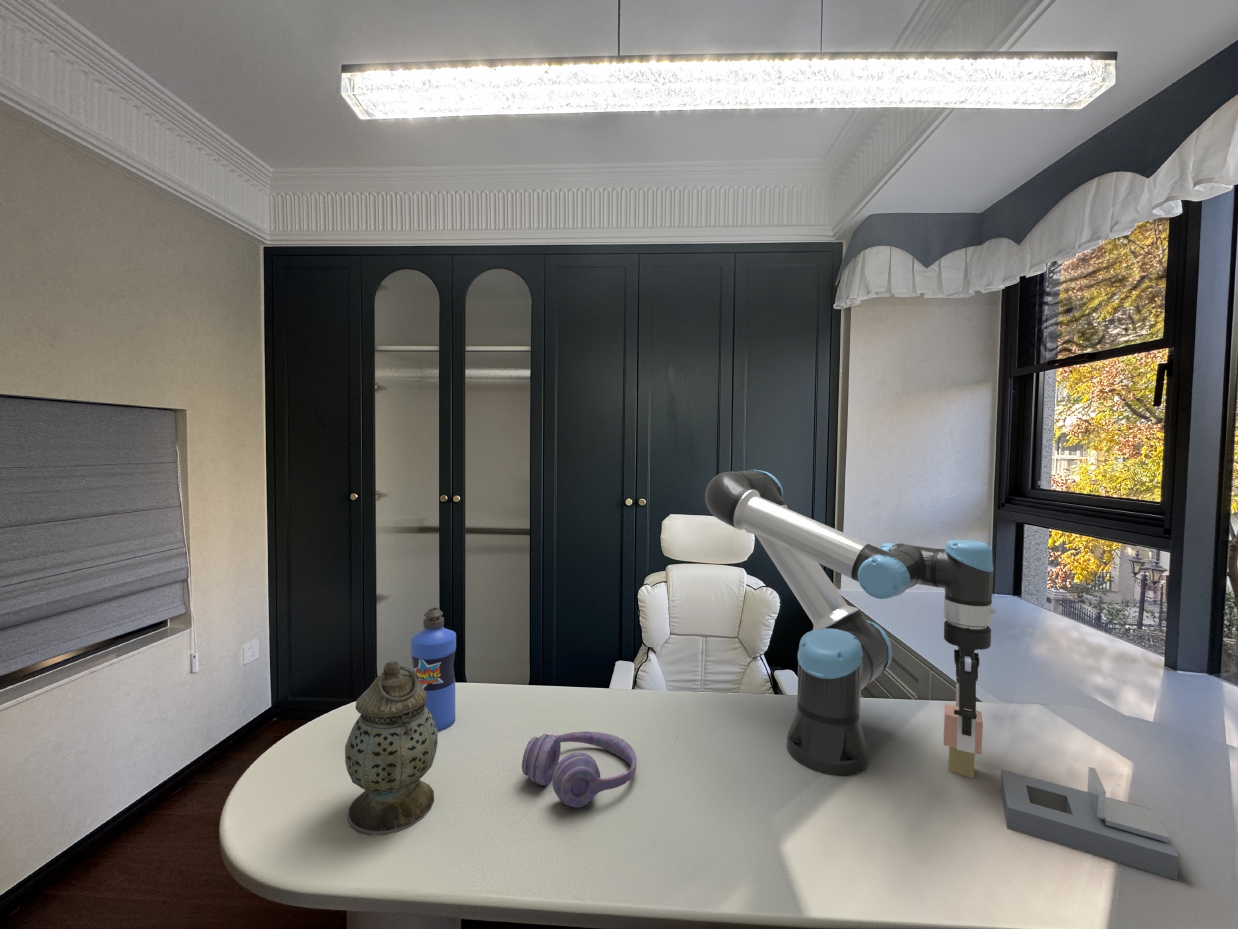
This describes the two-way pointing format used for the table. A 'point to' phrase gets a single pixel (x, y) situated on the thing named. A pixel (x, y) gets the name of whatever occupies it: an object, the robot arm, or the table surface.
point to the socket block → (1079, 824)
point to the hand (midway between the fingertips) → (964, 733)
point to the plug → (957, 759)
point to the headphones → (575, 765)
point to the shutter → (1123, 812)
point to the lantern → (391, 754)
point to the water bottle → (436, 667)
